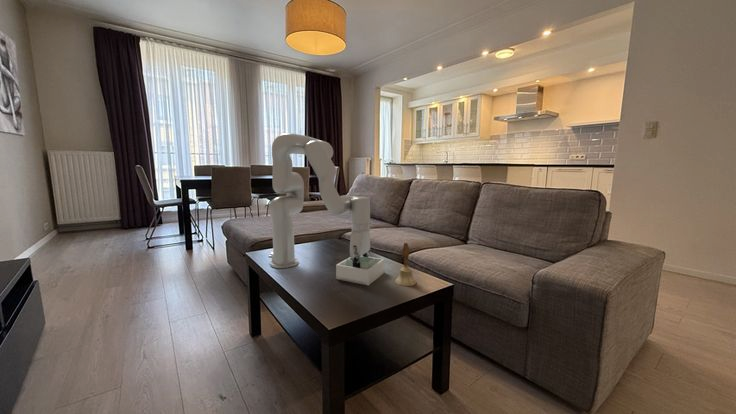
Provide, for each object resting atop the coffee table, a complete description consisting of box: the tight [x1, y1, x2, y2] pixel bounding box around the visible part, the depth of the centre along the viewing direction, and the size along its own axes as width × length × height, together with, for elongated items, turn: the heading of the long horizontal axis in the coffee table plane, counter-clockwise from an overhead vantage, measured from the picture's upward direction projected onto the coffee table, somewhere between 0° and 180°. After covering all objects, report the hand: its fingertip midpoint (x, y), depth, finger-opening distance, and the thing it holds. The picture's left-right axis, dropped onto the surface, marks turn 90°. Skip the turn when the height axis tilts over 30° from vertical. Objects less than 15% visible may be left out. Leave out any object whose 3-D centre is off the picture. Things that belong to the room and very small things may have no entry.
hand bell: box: [394, 242, 417, 287], centre depth 119 cm, size 8×8×16 cm
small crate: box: [345, 255, 377, 270], centre depth 126 cm, size 10×7×5 cm
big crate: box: [335, 256, 386, 286], centre depth 126 cm, size 15×16×6 cm
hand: (360, 268), depth 126 cm, fingers closed on small crate, 7 cm apart
